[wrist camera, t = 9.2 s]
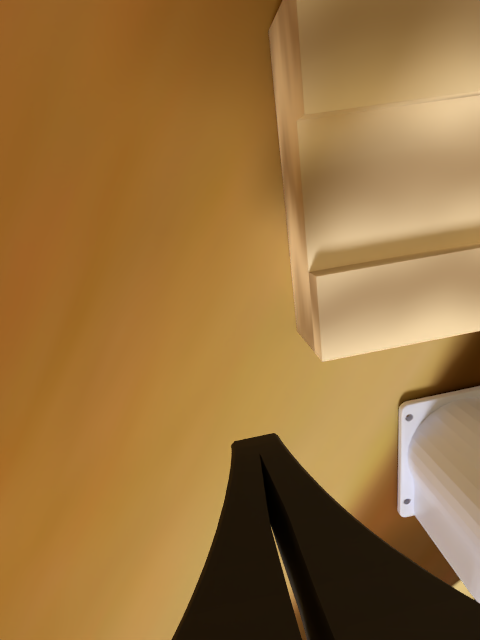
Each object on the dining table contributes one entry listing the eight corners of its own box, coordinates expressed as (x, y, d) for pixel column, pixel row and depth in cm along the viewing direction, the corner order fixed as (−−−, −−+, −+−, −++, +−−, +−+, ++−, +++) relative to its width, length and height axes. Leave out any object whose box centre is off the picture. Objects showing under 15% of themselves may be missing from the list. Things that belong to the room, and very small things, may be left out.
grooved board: (555, 282, 21) (634, 300, 17) (297, 331, 20) (322, 361, 16) (603, -9, 16) (728, -72, 12) (268, 30, 15) (294, -27, 11)
